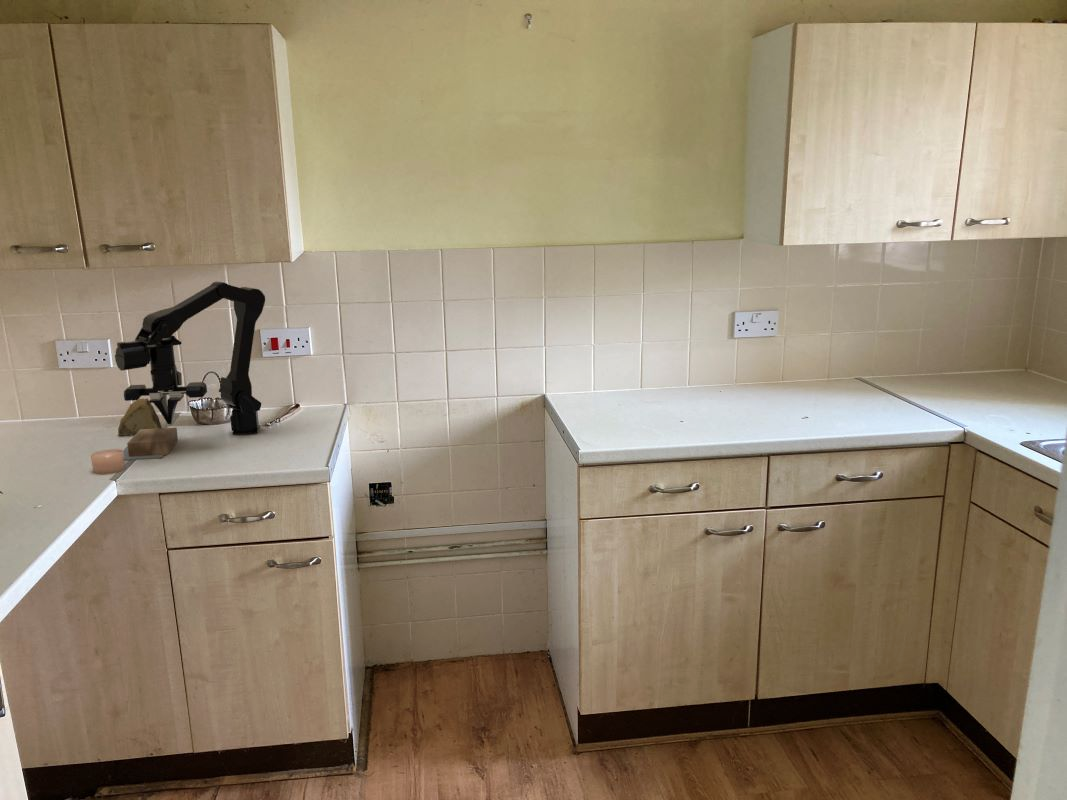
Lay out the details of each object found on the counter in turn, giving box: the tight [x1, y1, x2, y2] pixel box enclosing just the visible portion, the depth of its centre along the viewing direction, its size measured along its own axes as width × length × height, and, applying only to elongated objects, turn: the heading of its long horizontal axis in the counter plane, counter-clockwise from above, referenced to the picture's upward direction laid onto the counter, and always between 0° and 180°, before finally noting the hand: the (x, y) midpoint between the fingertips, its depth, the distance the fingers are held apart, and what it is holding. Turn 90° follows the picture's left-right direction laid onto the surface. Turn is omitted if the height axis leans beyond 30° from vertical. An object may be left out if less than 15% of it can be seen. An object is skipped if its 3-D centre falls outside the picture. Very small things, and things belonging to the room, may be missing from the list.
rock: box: [117, 398, 163, 437], centre depth 230 cm, size 11×9×10 cm
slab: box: [126, 427, 179, 457], centre depth 215 cm, size 4×12×9 cm
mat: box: [122, 445, 166, 461], centre depth 215 cm, size 11×16×1 cm
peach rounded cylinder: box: [90, 448, 126, 475], centre depth 201 cm, size 7×7×4 cm
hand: (169, 423), depth 215 cm, fingers closed
